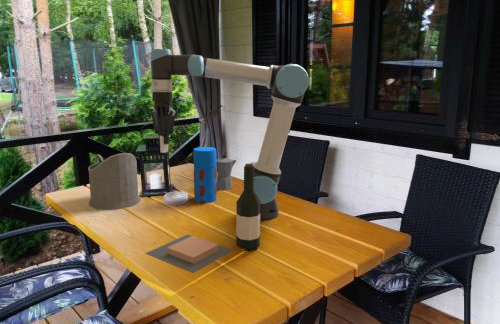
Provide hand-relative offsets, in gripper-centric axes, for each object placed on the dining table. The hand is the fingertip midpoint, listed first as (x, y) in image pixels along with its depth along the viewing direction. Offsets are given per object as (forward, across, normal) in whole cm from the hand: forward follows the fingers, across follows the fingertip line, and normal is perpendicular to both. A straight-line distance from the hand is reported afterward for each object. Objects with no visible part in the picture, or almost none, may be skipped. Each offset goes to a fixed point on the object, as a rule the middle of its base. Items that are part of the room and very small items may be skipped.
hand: (164, 152), depth 154 cm
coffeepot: (+30, -14, +52) cm, 62 cm away
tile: (+27, +23, -15) cm, 39 cm away
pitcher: (+30, -43, +4) cm, 52 cm away
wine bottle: (+30, +40, +2) cm, 50 cm away
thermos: (+30, -7, +32) cm, 44 cm away
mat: (+29, +28, -15) cm, 43 cm away
